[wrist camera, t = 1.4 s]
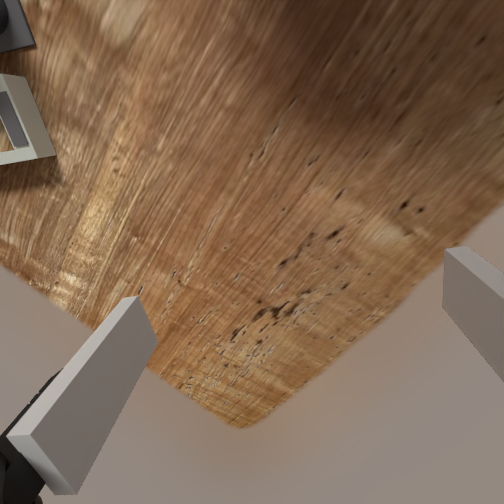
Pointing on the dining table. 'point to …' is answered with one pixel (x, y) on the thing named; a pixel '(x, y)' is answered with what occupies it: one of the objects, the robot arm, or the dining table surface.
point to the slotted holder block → (22, 122)
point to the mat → (16, 29)
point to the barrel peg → (3, 16)
